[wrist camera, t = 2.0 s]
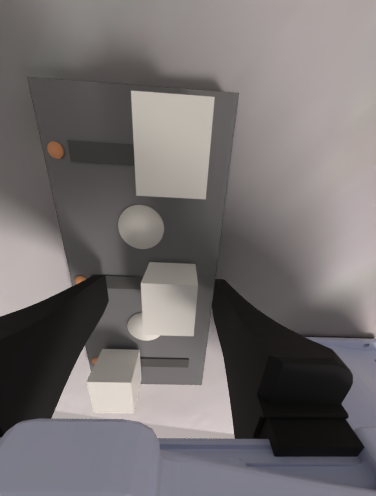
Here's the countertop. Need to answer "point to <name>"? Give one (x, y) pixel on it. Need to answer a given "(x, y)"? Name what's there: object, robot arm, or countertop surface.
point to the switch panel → (130, 215)
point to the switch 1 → (115, 381)
